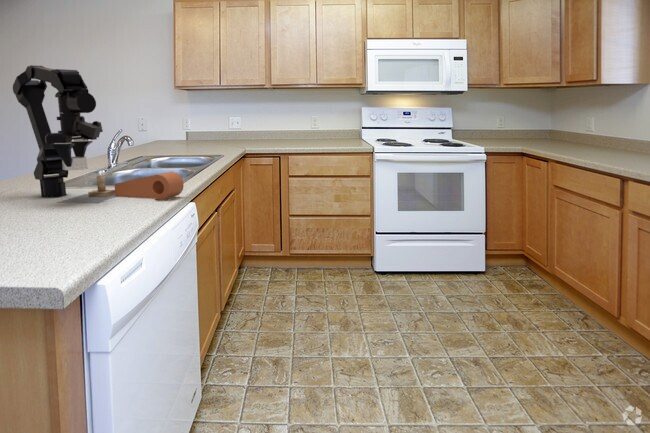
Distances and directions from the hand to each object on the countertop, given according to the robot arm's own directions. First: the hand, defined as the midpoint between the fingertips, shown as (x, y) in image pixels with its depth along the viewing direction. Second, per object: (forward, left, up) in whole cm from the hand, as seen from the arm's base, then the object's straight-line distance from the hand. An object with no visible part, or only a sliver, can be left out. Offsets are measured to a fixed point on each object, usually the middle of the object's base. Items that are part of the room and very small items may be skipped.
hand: (74, 165), depth 173 cm
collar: (0, 0, -1) cm, 1 cm away
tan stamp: (+3, +10, -11) cm, 15 cm away
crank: (+18, +10, -11) cm, 24 cm away
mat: (+2, +5, -11) cm, 12 cm away
